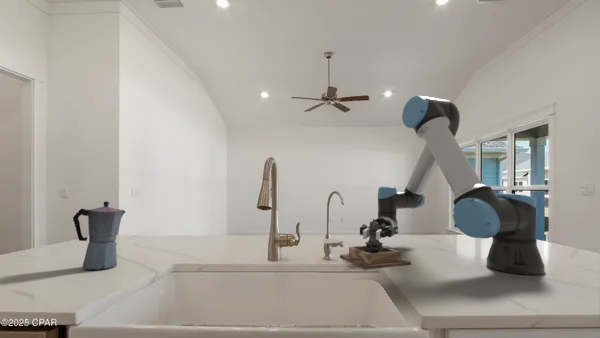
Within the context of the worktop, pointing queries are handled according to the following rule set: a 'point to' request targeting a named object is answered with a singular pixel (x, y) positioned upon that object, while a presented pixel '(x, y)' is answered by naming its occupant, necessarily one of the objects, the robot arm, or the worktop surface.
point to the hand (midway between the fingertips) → (370, 235)
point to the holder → (374, 257)
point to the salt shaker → (373, 239)
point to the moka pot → (100, 236)
